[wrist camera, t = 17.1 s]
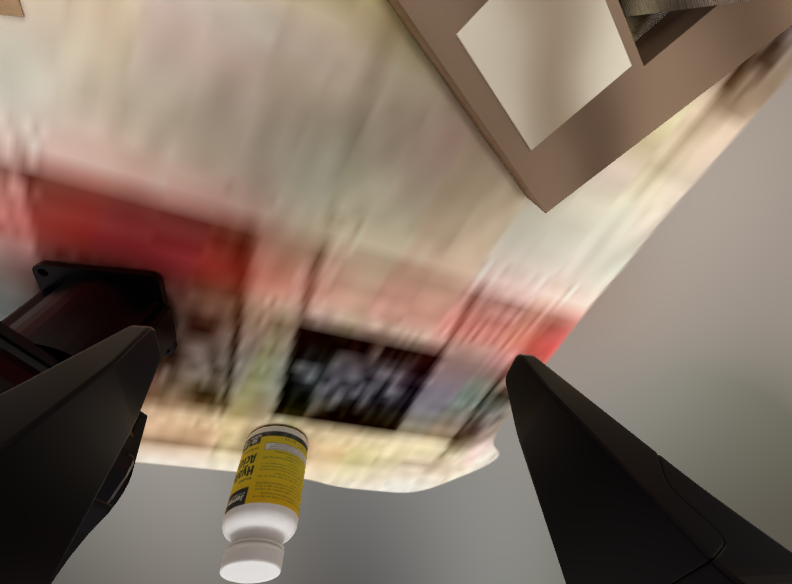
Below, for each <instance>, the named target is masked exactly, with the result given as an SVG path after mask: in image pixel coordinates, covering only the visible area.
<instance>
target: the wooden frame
mask: <svg viewBox="0 0 792 584" xmlns="http://www.w3.org/2000/svg"><path fill="white" fill-rule="evenodd" d="M0 14H2V15H12V16H21V17H24V15H23V12H22V9H21V5H20V2H19V0H0Z"/></svg>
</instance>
